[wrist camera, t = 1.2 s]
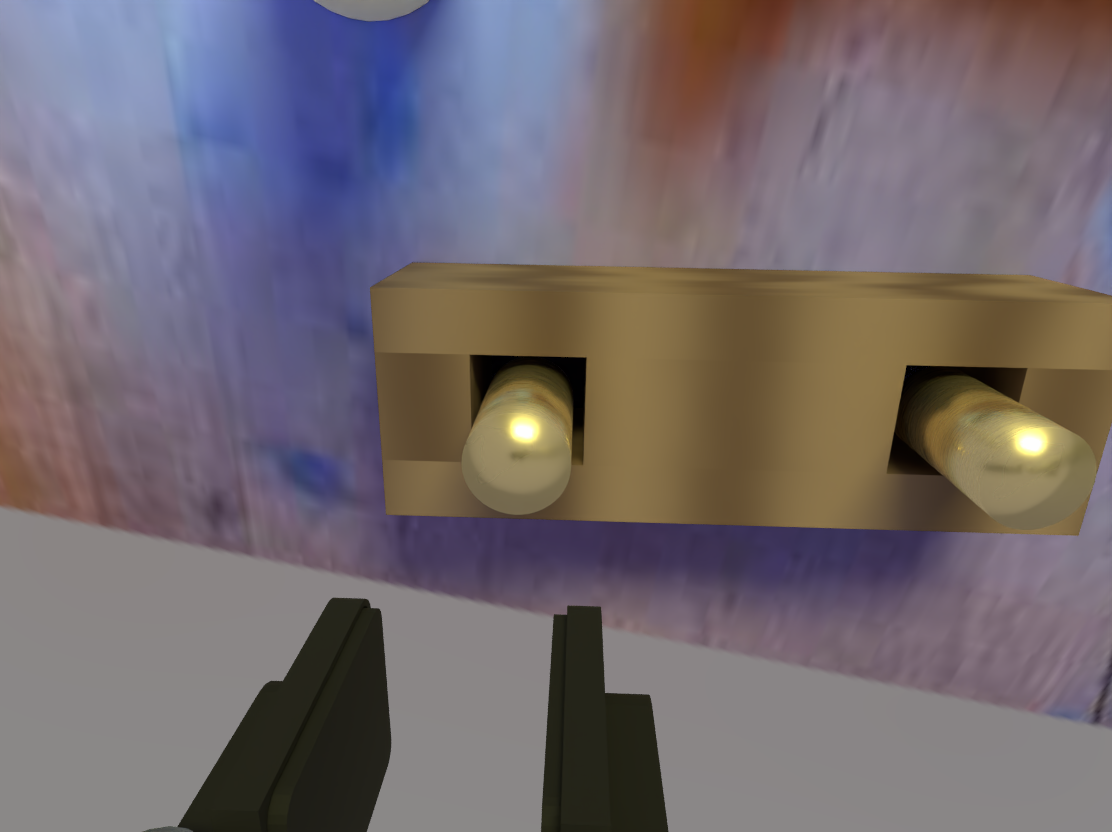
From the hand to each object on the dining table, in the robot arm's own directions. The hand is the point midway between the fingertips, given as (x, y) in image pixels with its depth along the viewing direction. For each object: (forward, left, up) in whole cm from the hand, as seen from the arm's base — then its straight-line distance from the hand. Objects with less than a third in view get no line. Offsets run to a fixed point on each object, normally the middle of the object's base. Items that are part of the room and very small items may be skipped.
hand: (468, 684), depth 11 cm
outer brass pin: (0, 0, -15) cm, 15 cm away
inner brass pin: (-14, 0, -15) cm, 20 cm away
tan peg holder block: (-7, 0, -19) cm, 20 cm away
